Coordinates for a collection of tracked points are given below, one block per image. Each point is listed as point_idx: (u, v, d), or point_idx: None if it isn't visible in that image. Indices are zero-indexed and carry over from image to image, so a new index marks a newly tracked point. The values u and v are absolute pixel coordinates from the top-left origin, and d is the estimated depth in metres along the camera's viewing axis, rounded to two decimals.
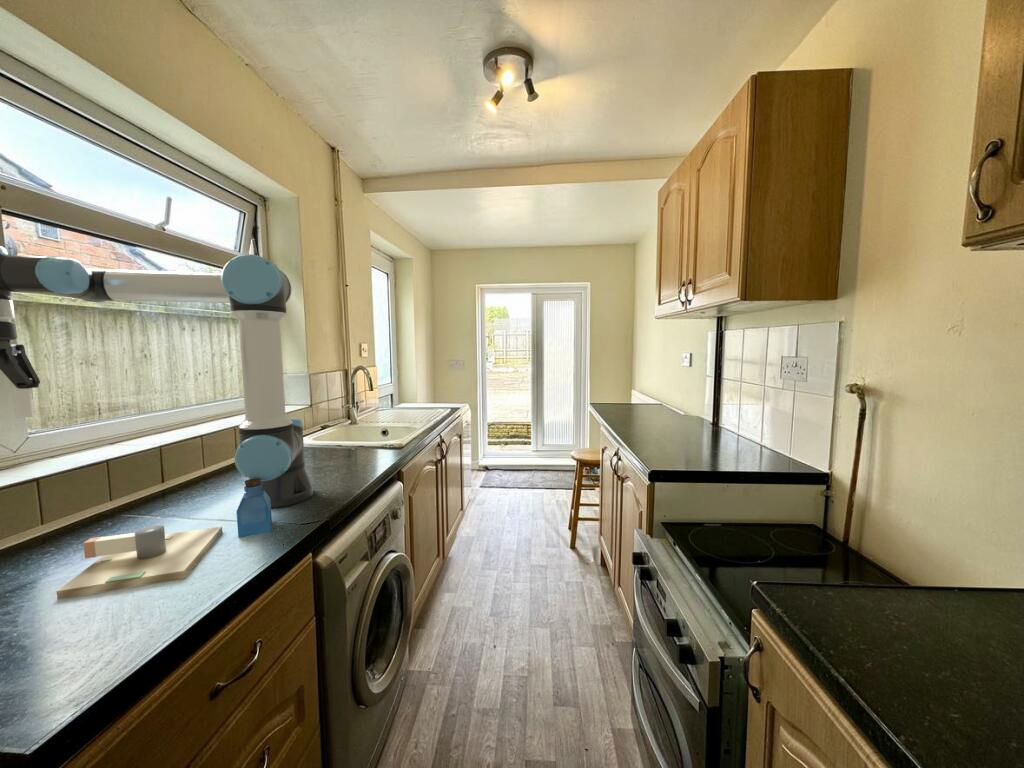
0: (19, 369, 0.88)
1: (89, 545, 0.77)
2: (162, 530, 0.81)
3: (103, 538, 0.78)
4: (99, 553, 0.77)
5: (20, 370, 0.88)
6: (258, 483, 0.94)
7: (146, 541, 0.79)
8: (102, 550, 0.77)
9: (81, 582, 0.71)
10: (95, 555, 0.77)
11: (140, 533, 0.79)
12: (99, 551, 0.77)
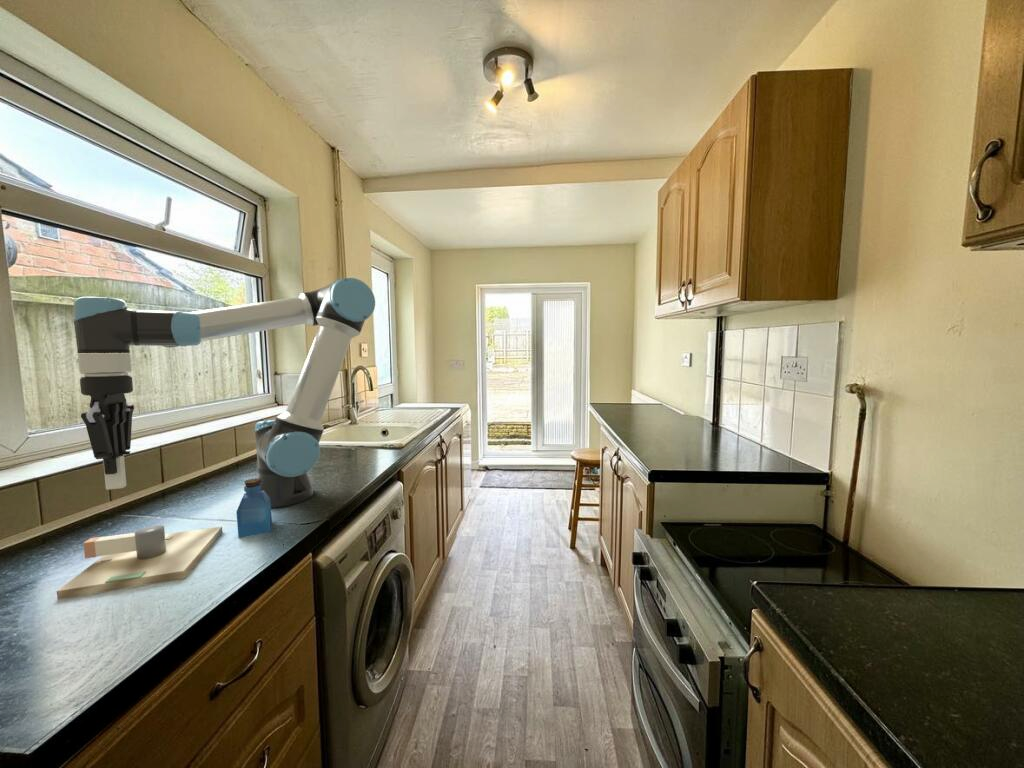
0: (122, 429, 0.84)
1: (89, 545, 0.77)
2: (162, 530, 0.81)
3: (103, 538, 0.78)
4: (99, 553, 0.77)
5: (123, 431, 0.84)
6: (258, 483, 0.94)
7: (146, 541, 0.79)
8: (102, 550, 0.77)
9: (81, 582, 0.71)
10: (95, 555, 0.77)
11: (140, 533, 0.79)
12: (99, 551, 0.77)
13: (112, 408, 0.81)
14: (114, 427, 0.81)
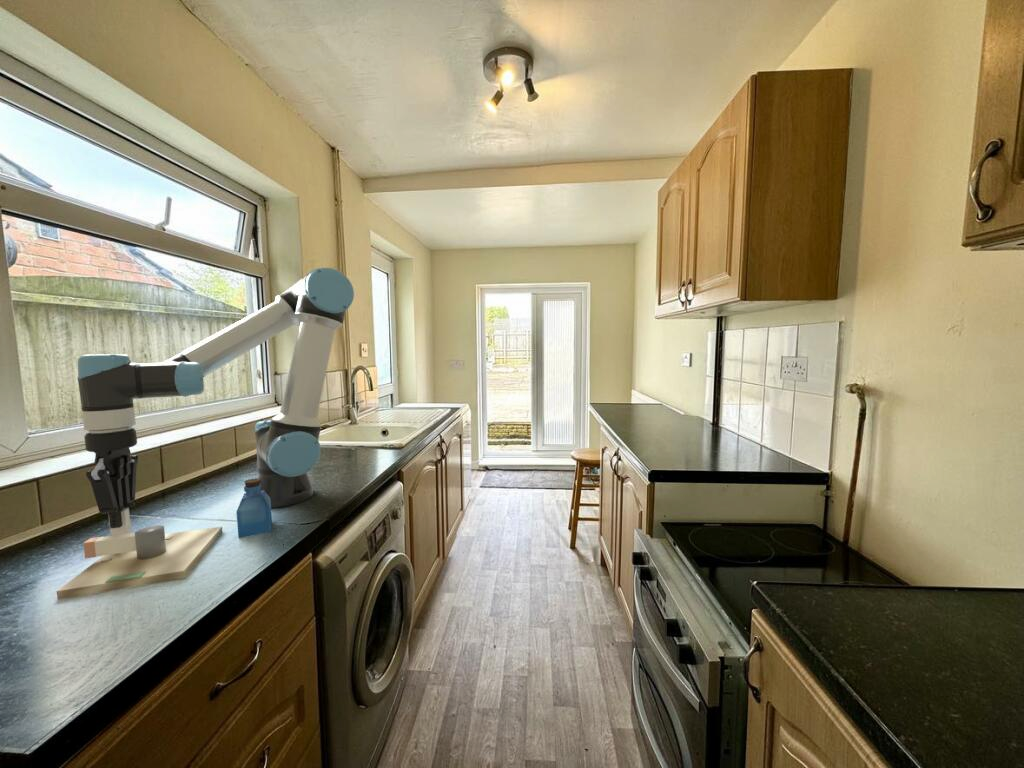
0: (127, 482, 0.85)
1: (89, 545, 0.77)
2: (162, 530, 0.81)
3: (103, 538, 0.78)
4: (99, 553, 0.77)
5: (127, 483, 0.85)
6: (258, 483, 0.94)
7: (146, 541, 0.79)
8: (102, 550, 0.77)
9: (81, 582, 0.71)
10: (95, 555, 0.77)
11: (140, 533, 0.79)
12: (99, 551, 0.77)
13: (117, 463, 0.81)
14: (119, 481, 0.82)
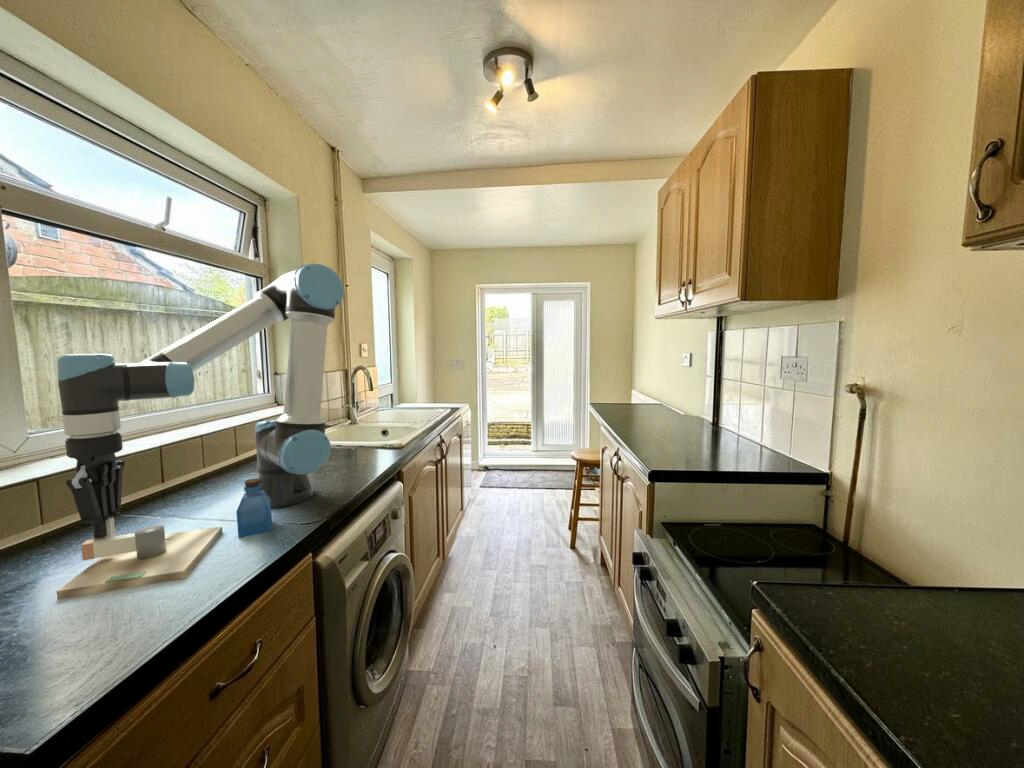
0: (112, 489, 0.80)
1: (87, 547, 0.76)
2: (163, 530, 0.81)
3: (101, 539, 0.77)
4: (98, 555, 0.77)
5: (112, 491, 0.80)
6: (258, 483, 0.94)
7: (147, 541, 0.79)
8: (101, 551, 0.77)
9: (81, 582, 0.71)
10: (93, 557, 0.76)
11: (141, 533, 0.79)
12: (98, 553, 0.77)
13: (100, 470, 0.76)
14: (103, 489, 0.77)
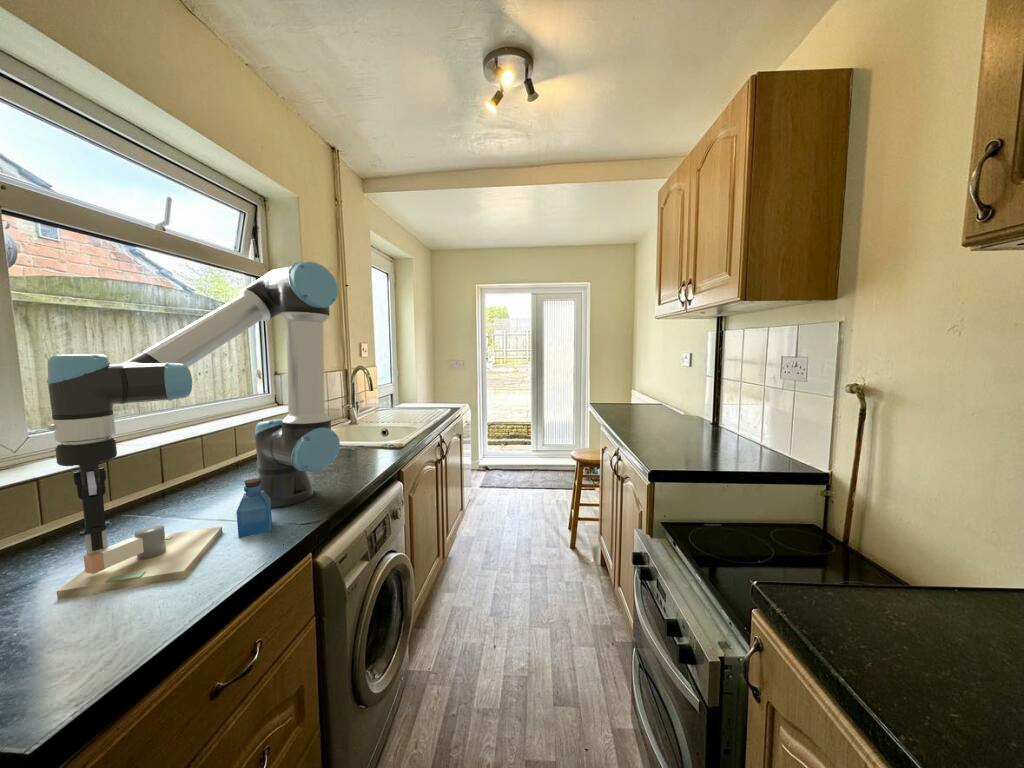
0: None
1: (98, 558, 0.72)
2: None
3: (104, 550, 0.73)
4: (108, 564, 0.73)
5: None
6: (258, 483, 0.94)
7: (160, 537, 0.80)
8: (111, 560, 0.74)
9: (81, 582, 0.71)
10: (104, 567, 0.72)
11: (148, 532, 0.79)
12: (108, 562, 0.73)
13: (101, 477, 0.73)
14: None
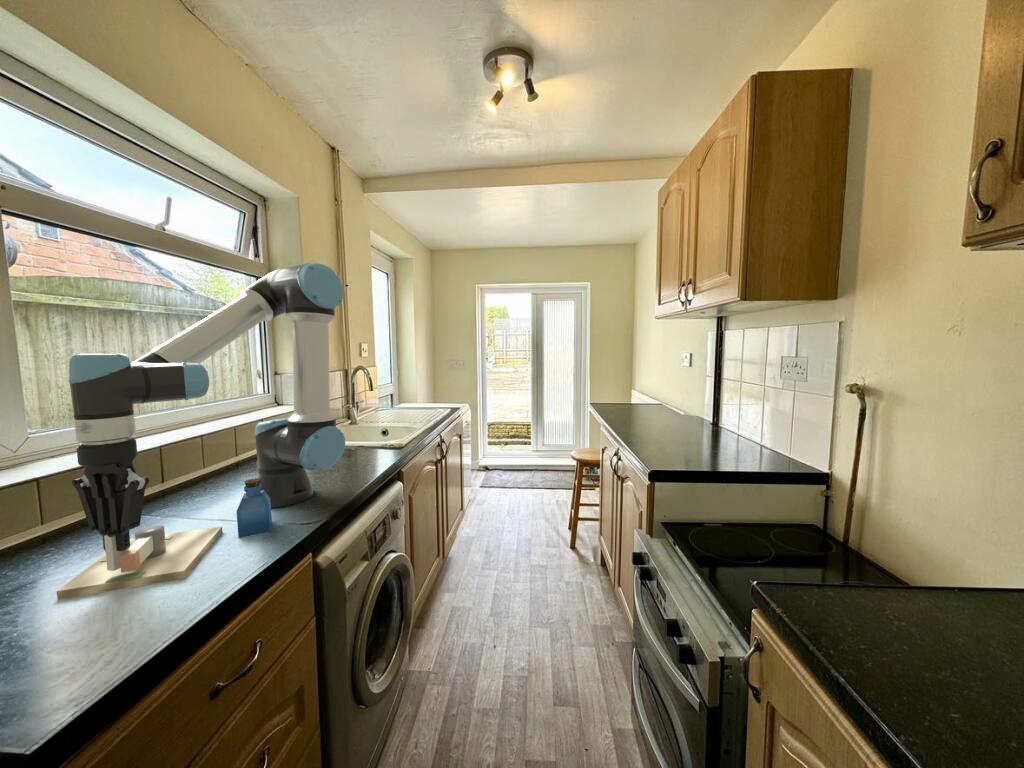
0: None
1: (137, 554, 0.73)
2: None
3: (132, 548, 0.74)
4: (140, 561, 0.74)
5: None
6: (258, 483, 0.94)
7: (164, 533, 0.82)
8: (141, 556, 0.75)
9: (81, 582, 0.71)
10: (139, 564, 0.74)
11: (155, 530, 0.80)
12: (140, 559, 0.74)
13: None
14: None
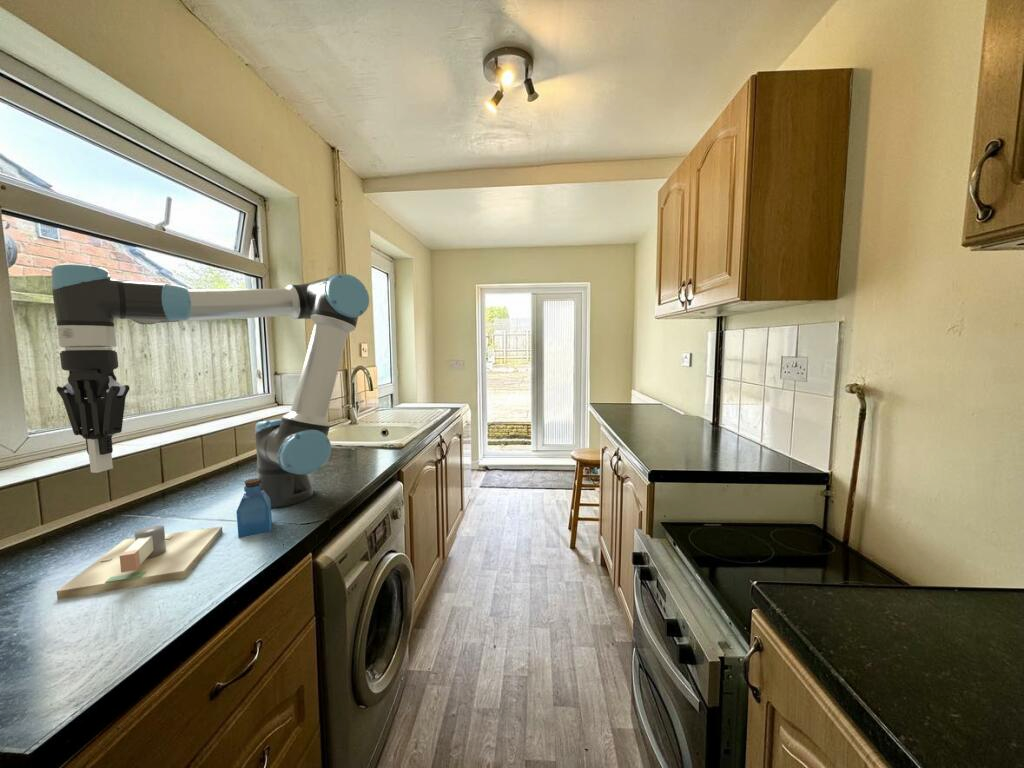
0: None
1: (137, 554, 0.73)
2: None
3: (133, 548, 0.74)
4: (140, 561, 0.74)
5: None
6: (258, 483, 0.94)
7: (164, 533, 0.82)
8: (142, 556, 0.75)
9: (81, 582, 0.71)
10: (139, 564, 0.74)
11: (155, 530, 0.80)
12: (140, 559, 0.74)
13: None
14: None
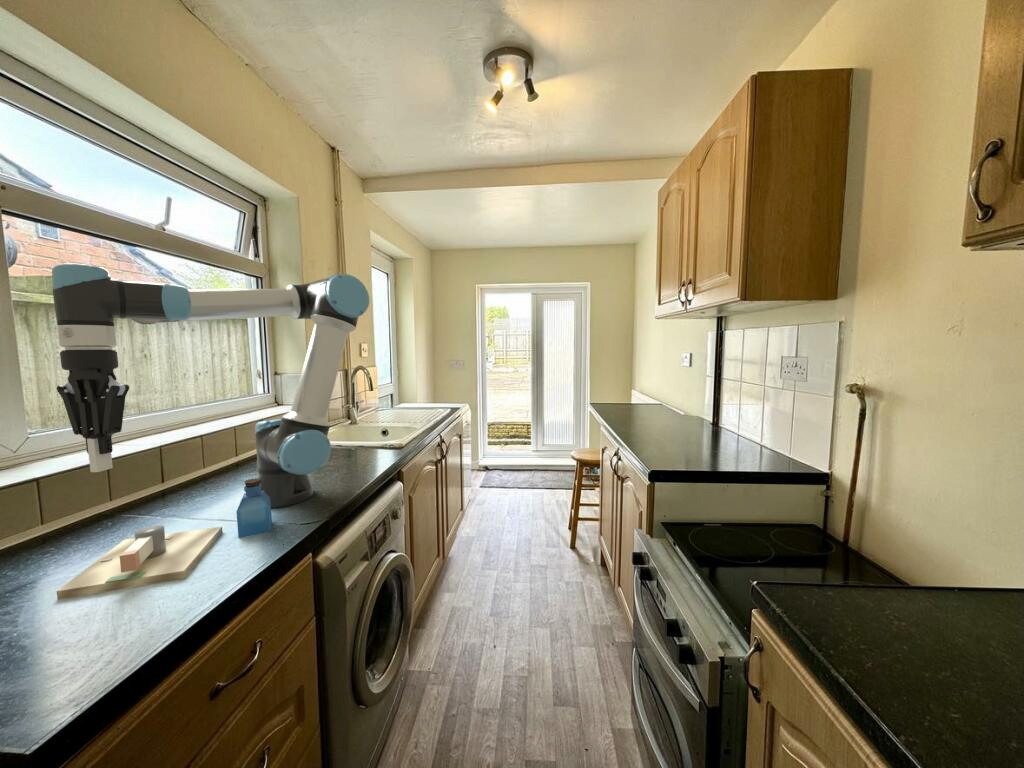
0: None
1: (137, 554, 0.73)
2: None
3: (133, 548, 0.74)
4: (140, 561, 0.74)
5: None
6: (258, 483, 0.94)
7: (164, 533, 0.82)
8: (142, 556, 0.75)
9: (81, 582, 0.71)
10: (139, 564, 0.74)
11: (155, 530, 0.80)
12: (140, 559, 0.74)
13: None
14: None
